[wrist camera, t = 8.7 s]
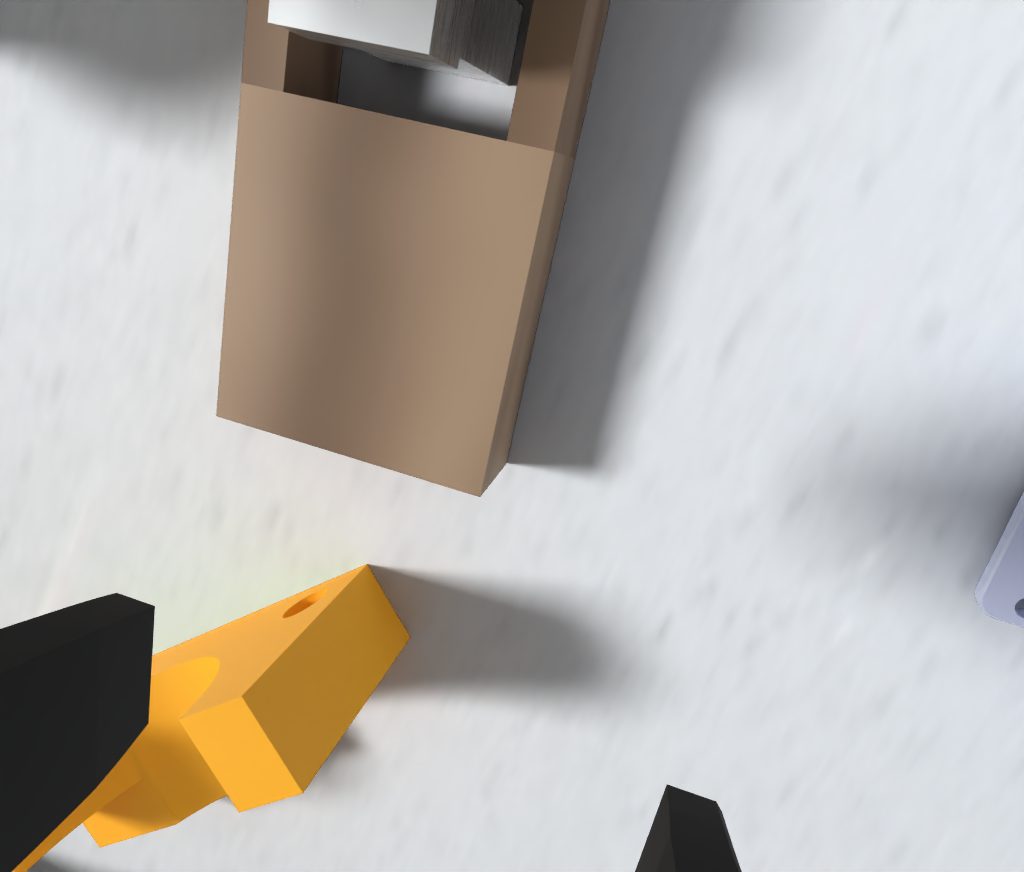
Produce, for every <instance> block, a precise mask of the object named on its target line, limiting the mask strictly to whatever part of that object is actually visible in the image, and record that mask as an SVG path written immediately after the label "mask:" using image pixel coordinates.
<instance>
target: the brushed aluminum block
mask: <svg viewBox="0 0 1024 872" xmlns="http://www.w3.org/2000/svg"><path fill="white" fill-rule="evenodd" d="M522 9H523V7H522V6H521V5H520V4H519V3H518V2H517V1H516V0H269V11H268V23H270V24H273V25H275V26H277V27H280V28H282V29H285V30H287V31H290V32H292V33H295V34H297V35H300V36H302V37H304V38H307V39H309V40H313V41H318V42H323V43H328V44H333V45H338V46H343V47H348V48H353V49H358V50H362V51H365V52H367V53H369V54H371V55H374V56H376V57H378V58H381V59H383V60H385V61H388V62H393V63H398V64H403V65H408V66H413V67H418V68H423V69H428V70H433V71H438V72H443V73H448V74H453V75H458V76H462V77H467V78H472V79H477V80H482V81H487V82H492V83H497V84H502V85H507V86H508V84H509V79H510V73H511V68H512V63H513V57H514V52H515V46H516V41H517V36H518V30H519V25H520V19H521V14H522Z"/></svg>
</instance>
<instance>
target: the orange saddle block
mask: <svg viewBox="0 0 1024 872" xmlns="http://www.w3.org/2000/svg"><path fill="white" fill-rule="evenodd" d="M409 639H410V636H409V635H408V633H407V631H406V630H405V628H404V626H403V624H402V623H401V621H400V619H399V618H398V616H397V614H396V612H395V611H394V609H393V607H392V606H391V604H390V602H389V600H388V599H387V597H386V595H385V594H384V592H383V590H382V588H381V587H380V585H379V583H378V582H377V580H376V578H375V576H374V575H373V573H372V571H371V570H370V568H369V566H368V564H366V565H364V566H361V567H359V568H357V569H354V570H352V571H350V572H347V573H345V574H343V575H340V576H338V577H336V578H333V579H331V580H329V581H326V582H324V583H321V584H319V585H317V586H314V587H312V588H310V589H307V590H305V591H303V592H300V593H298V594H296V595H293V596H291V597H289V598H286V599H284V600H282V601H279V602H277V603H275V604H272V605H270V606H268V607H265V608H263V609H261V610H258V611H256V612H254V613H251V614H249V615H246V616H244V617H242V618H239V619H237V620H235V621H232V622H230V623H228V624H225V625H223V626H221V627H218V628H216V629H214V630H211V631H209V632H207V633H204V634H202V635H200V636H197V637H195V638H193V639H190V640H188V641H186V642H183V643H181V644H179V645H176V646H174V647H171V648H169V649H167V650H164V651H162V652H160V653H157V654H155V655H153V656H152V667H151V686H150V705H149V724H148V725H147V726H146V727H145V729H144V730H143V731H142V732H141V734H140V735H139V736H138V738H137V739H136V740H135V741H134V743H133V744H132V745H131V746H130V748H129V749H128V750H127V752H126V753H125V754H124V755H123V757H122V758H121V759H120V760H119V762H118V763H117V764H116V765H115V766H114V768H113V769H112V770H111V771H110V772H109V774H108V775H107V776H106V777H105V778H104V780H103V781H102V782H101V783H100V784H99V785H98V787H97V788H96V789H95V790H94V791H93V792H92V793H91V794H90V795H89V796H88V797H87V798H86V799H85V800H84V801H83V802H82V803H81V804H80V805H79V806H78V807H77V808H76V809H75V810H74V811H73V812H72V813H71V814H70V815H69V816H68V817H67V818H66V819H65V820H64V821H63V822H62V823H61V824H60V825H59V826H58V827H57V828H56V829H55V830H54V831H53V832H52V833H51V834H50V835H49V836H48V837H47V838H46V839H45V840H44V841H43V842H42V843H41V844H40V845H39V846H38V847H37V848H36V849H35V850H34V851H33V852H32V853H31V854H29V855H28V856H27V857H26V858H25V859H24V860H23V861H22V862H21V863H20V864H19V865H18V866H17V867H16V868H15V869H14V870H13V871H12V872H26V871H27V870H28V869H29V868H30V867H31V866H32V865H34V864H35V863H36V862H37V861H38V860H39V859H40V858H41V857H42V856H44V855H45V854H46V853H47V852H48V851H49V850H50V849H51V848H53V847H54V846H55V845H56V844H57V843H58V842H60V841H61V840H62V839H63V838H64V837H65V836H67V835H68V834H69V833H70V832H71V831H73V830H74V829H75V828H76V827H78V826H79V825H80V824H81V823H83V824H84V826H85V827H86V829H87V830H88V831H89V833H90V834H91V836H92V837H93V839H94V840H95V841H96V843H97V844H98V846H99V847H103V846H106V845H110V844H113V843H116V842H120V841H123V840H126V839H129V838H133V837H136V836H139V835H143V834H146V833H149V832H152V831H156V830H159V829H162V828H166V827H169V826H172V825H175V824H177V823H179V822H181V821H182V820H184V819H185V818H187V817H188V816H190V815H192V814H193V813H195V812H197V811H198V810H200V809H202V808H203V807H205V806H207V805H209V804H211V803H213V802H214V801H216V800H218V799H220V798H222V797H224V796H227V795H228V796H229V798H230V799H231V801H232V802H233V804H234V805H235V807H236V808H237V810H238V812H242V811H245V810H249V809H252V808H255V807H259V806H262V805H265V804H269V803H272V802H275V801H279V800H282V799H285V798H289V797H292V796H295V795H299V794H302V793H303V792H304V791H305V790H306V788H307V787H308V785H309V784H310V782H311V781H312V779H313V778H314V777H315V775H316V774H317V772H318V771H319V769H320V768H321V766H322V765H323V763H324V762H325V761H326V759H327V758H328V756H329V755H330V753H331V752H332V750H333V749H334V748H335V746H336V745H337V743H338V742H339V740H340V739H341V737H342V736H343V735H344V733H345V732H346V730H347V729H348V727H349V726H350V724H351V723H352V721H353V720H354V719H355V717H356V716H357V714H358V713H359V711H360V710H361V708H362V707H363V706H364V704H365V703H366V701H367V700H368V698H369V697H370V695H371V694H372V693H373V691H374V690H375V688H376V687H377V685H378V684H379V682H380V681H381V679H382V678H383V677H384V675H385V674H386V672H387V671H388V669H389V668H390V666H391V665H392V664H393V662H394V661H395V659H396V658H397V656H398V655H399V653H400V652H401V651H402V649H403V648H404V646H405V645H406V643H407V642H408V640H409Z"/></svg>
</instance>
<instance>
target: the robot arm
mask: <svg viewBox="0 0 1024 872" xmlns="http://www.w3.org/2000/svg"><path fill="white" fill-rule="evenodd" d="M975 597H976V601H977V603H978V605H979V606H980V608H981V609H982V610H983V611H984V612H985V613H986V615H988V616H990V617H992V618H994V619H998V620H1001V621H1005V622H1008V623H1011V624H1015V625H1018V626H1021V627H1024V610H1019V609H1015V604H1016V603H1017V602H1018V601H1019V600H1021V599H1024V492H1023V494H1022V496H1021V498H1020V500H1019V502H1018V504H1017V506H1016V508H1015V510H1014V512H1013V514H1012V516H1011V518H1010V520H1009V522H1008V524H1007V526H1006V528H1005V530H1004V532H1003V534H1002V536H1001V538H1000V540H999V542H998V545H997V547H996V549H995V551H994V553H993V555H992V557H991V559H990V561H989V563H988V565H987V567H986V569H985V571H984V573H983V575H982V577H981V579H980V581H979V583H978V585H977V587H976V591H975ZM154 610H155V606H153V605H150V604H147V603H144V602H141V601H138V600H136V599H133V598H130V597H127V596H124V595H121V594H118V593H114V594H111V595H107V596H103V597H99V598H96V599H92V600H89V601H86V602H82V603H79V604H76V605H73V606H70V607H66V608H63V609H60V610H57V611H54V612H51V613H48V614H45V615H42V616H39V617H36V618H33V619H30V620H27V621H23V622H20V623H17V624H14V625H11V626H8V627H5V628H2V629H0V872H12V871H13V870H14V869H15V868H16V867H17V866H18V865H19V864H20V863H21V862H22V861H23V860H24V859H25V858H26V857H27V856H28V855H29V854H31V853H32V852H33V851H34V850H35V849H36V848H37V847H38V846H39V845H40V844H41V843H42V842H43V841H44V840H45V839H46V838H47V837H48V836H49V835H50V834H51V833H52V832H53V831H54V830H55V829H56V828H57V827H58V826H59V825H60V824H61V823H62V822H63V821H64V820H65V819H66V818H67V817H68V816H69V815H70V814H71V813H72V812H73V811H74V810H75V809H76V808H77V807H78V806H79V805H80V804H81V803H82V802H83V801H84V800H85V799H86V798H87V797H88V796H89V795H90V794H91V793H92V792H93V791H94V790H95V789H96V788H97V787H98V785H99V784H100V783H101V782H102V781H103V780H104V778H105V777H106V776H107V775H108V774H109V772H110V771H111V770H112V769H113V768H114V766H115V765H116V764H117V763H118V762H119V760H120V759H121V758H122V757H123V755H124V754H125V753H126V752H127V750H128V749H129V748H130V746H131V745H132V744H133V743H134V741H135V740H136V739H137V738H138V736H139V735H140V734H141V732H142V731H143V730H144V729H145V727H146V726H147V725H148V724H149V705H150V686H151V667H152V648H153V629H154ZM635 872H741V869H740V866H739V863H738V860H737V857H736V854H735V851H734V848H733V845H732V842H731V839H730V836H729V833H728V830H727V827H726V824H725V820H724V817H723V814H722V811H721V810H720V808H719V806H718V804H717V802H716V801H713V800H710V799H707V798H704V797H701V796H699V795H696V794H693V793H690V792H687V791H684V790H681V789H678V788H676V787H673V786H670V785H667V786H666V788H665V791H664V794H663V797H662V799H661V802H660V805H659V808H658V810H657V813H656V816H655V819H654V821H653V824H652V827H651V830H650V832H649V835H648V838H647V841H646V843H645V846H644V849H643V851H642V854H641V857H640V860H639V862H638V865H637V868H636V871H635Z"/></svg>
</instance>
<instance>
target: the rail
mask: <svg viewBox="0 0 1024 872" xmlns="http://www.w3.org/2000/svg"><path fill="white" fill-rule="evenodd" d="M609 4H610V0H534V1H533V6H532V11H531V16H530V22H529V27H528V32H527V37H526V42H525V48H524V53H523V58H522V63H521V68H520V74H519V79H518V84H517V89H516V94H515V99H514V105H513V110H512V115H511V120H510V125H509V131H508V136H507V141H504V140H499V139H495V138H490V137H486V136H481V135H477V134H472V133H468V132H463V131H458V130H454V129H449V128H445V127H440V126H436V125H431V124H427V123H422V122H418V121H413V120H408V119H404V118H399V117H395V116H390V115H386V114H381V113H377V112H372V111H368V110H363V109H359V108H354V107H349V106H345V105H340V104H336V102H337V93H338V85H339V76H340V67H341V59H342V50H343V46H338V45H333V44H328V43H323V42H318V41H313V40H309V39H307V38H304V37H302V36H300V35H297V34H295V33H292V32H290V31H287V30H285V29H282V28H280V27H277V26H275V25H273V24H270V23H268V11H269V0H247V13H246V26H245V39H244V53H243V66H242V80H241V93H240V106H239V120H238V133H237V146H236V160H235V173H234V186H233V200H232V213H231V226H230V240H229V253H228V266H227V280H226V293H225V307H224V320H223V333H222V347H221V360H220V373H219V387H218V400H217V413H216V416H218V417H221V418H224V419H228V420H231V421H234V422H237V423H241V424H244V425H247V426H250V427H254V428H257V429H260V430H263V431H267V432H270V433H273V434H276V435H280V436H283V437H286V438H289V439H293V440H296V441H299V442H302V443H306V444H309V445H312V446H315V447H319V448H322V449H325V450H328V451H332V452H335V453H338V454H342V455H345V456H348V457H351V458H355V459H358V460H361V461H364V462H368V463H371V464H374V465H377V466H381V467H384V468H387V469H390V470H394V471H397V472H400V473H403V474H407V475H410V476H413V477H416V478H420V479H423V480H426V481H429V482H433V483H436V484H439V485H442V486H446V487H449V488H452V489H455V490H459V491H462V492H465V493H468V494H472V495H475V496H478V497H480V496H481V495H482V494H483V493H484V491H485V490H486V489H487V488H488V486H489V485H490V484H491V482H492V481H493V480H494V479H495V477H496V476H497V475H498V474H499V472H500V471H501V470H502V469H503V467H504V466H505V465H506V463H507V458H508V454H509V449H510V445H511V440H512V436H513V431H514V427H515V423H516V418H517V414H518V409H519V405H520V400H521V396H522V391H523V387H524V382H525V378H526V373H527V369H528V365H529V360H530V356H531V351H532V347H533V342H534V338H535V333H536V329H537V324H538V320H539V316H540V311H541V307H542V302H543V298H544V293H545V289H546V284H547V280H548V275H549V271H550V267H551V262H552V258H553V253H554V249H555V244H556V240H557V235H558V231H559V226H560V222H561V218H562V213H563V209H564V204H565V200H566V195H567V191H568V186H569V182H570V177H571V173H572V168H573V164H574V160H575V155H576V151H577V146H578V142H579V137H580V133H581V128H582V124H583V119H584V115H585V111H586V106H587V102H588V97H589V93H590V88H591V84H592V79H593V75H594V70H595V66H596V62H597V57H598V53H599V48H600V44H601V39H602V35H603V30H604V26H605V21H606V17H607V13H608V8H609Z"/></svg>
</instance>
